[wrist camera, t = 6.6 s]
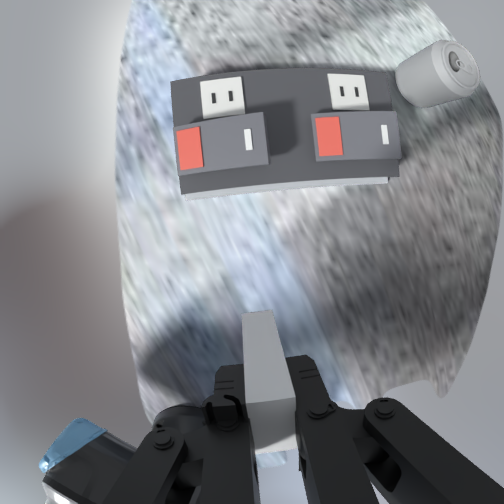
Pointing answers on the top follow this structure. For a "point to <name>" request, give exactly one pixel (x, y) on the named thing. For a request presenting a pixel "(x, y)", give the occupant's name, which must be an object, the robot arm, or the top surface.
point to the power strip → (282, 126)
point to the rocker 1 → (222, 144)
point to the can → (438, 74)
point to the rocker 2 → (356, 135)
